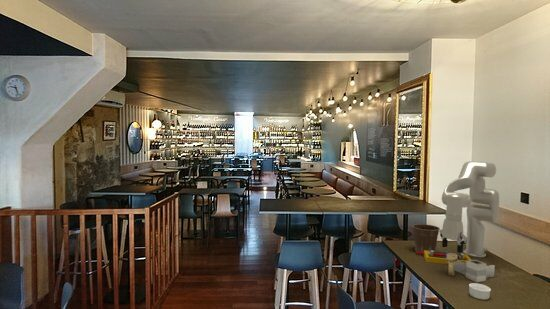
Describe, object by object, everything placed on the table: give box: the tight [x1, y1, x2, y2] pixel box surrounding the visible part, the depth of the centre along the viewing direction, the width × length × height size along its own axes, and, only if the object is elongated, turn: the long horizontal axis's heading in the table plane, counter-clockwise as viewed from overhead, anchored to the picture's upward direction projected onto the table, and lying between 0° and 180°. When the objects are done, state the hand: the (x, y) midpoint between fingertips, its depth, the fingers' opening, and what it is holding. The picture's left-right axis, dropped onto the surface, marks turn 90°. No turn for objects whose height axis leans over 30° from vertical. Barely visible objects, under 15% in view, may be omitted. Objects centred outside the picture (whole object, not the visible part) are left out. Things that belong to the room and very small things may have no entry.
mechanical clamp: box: [415, 250, 472, 265], centre depth 212 cm, size 18×6×30 cm
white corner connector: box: [454, 259, 496, 283], centre depth 192 cm, size 16×16×9 cm
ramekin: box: [468, 282, 492, 300], centre depth 166 cm, size 9×9×4 cm
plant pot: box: [412, 223, 441, 253], centre depth 229 cm, size 16×16×16 cm
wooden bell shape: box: [446, 252, 459, 276], centre depth 191 cm, size 5×5×11 cm
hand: (452, 249), depth 190 cm, fingers open, 9 cm apart
